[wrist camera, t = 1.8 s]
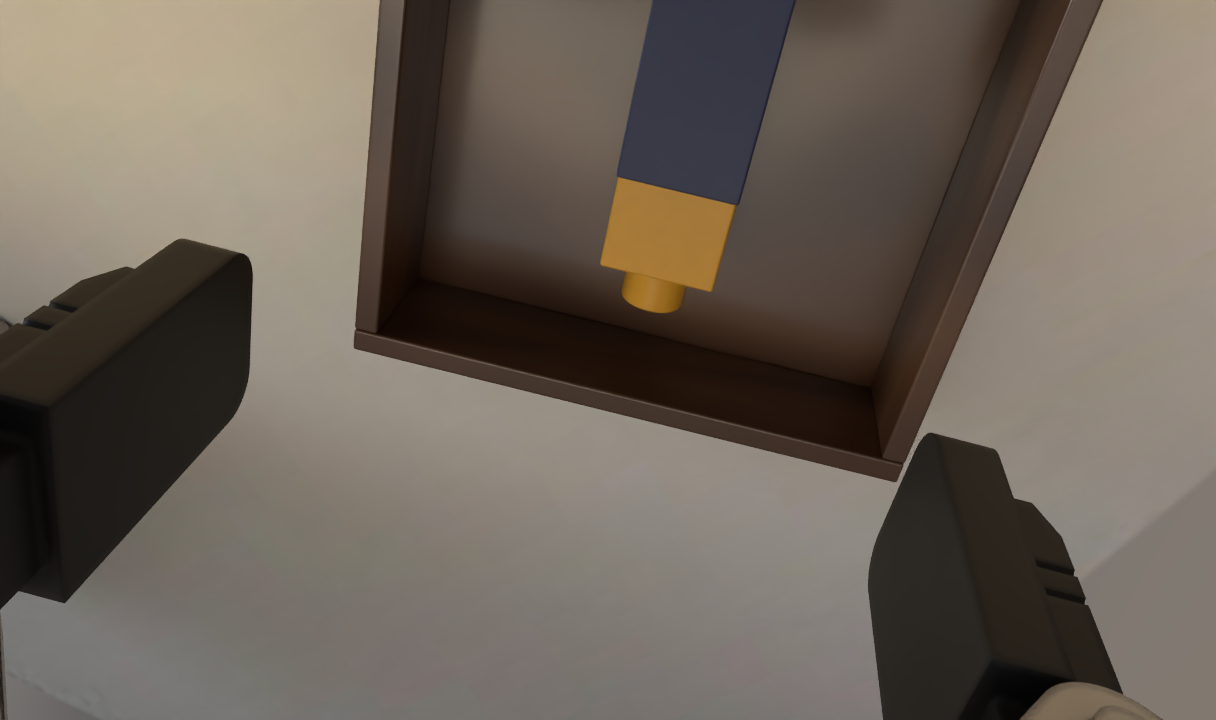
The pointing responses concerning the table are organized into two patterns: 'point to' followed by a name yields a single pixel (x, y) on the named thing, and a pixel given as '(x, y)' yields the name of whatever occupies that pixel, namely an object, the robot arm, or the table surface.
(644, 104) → the blue and yellow battery
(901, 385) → the tray
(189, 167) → the table surface
